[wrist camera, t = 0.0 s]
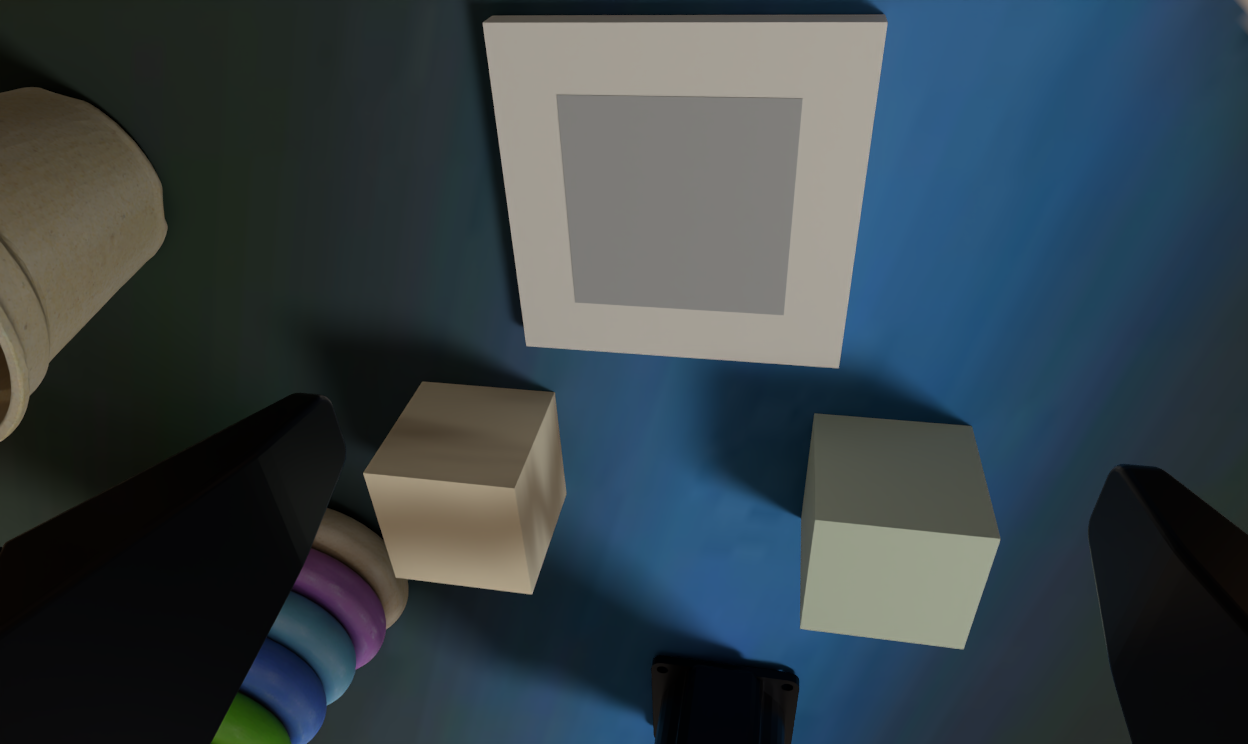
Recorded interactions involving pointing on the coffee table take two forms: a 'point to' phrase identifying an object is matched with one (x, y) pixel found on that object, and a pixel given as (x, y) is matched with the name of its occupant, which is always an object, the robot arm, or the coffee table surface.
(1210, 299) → the coffee table surface
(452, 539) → the block birch
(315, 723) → the stacking toy
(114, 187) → the flower pot
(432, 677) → the coffee table surface
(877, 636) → the block sage
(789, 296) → the plate
